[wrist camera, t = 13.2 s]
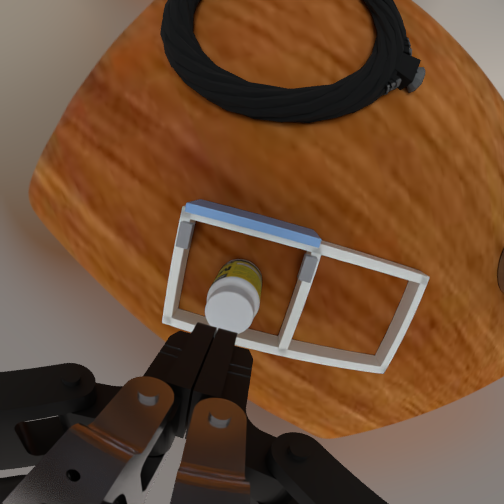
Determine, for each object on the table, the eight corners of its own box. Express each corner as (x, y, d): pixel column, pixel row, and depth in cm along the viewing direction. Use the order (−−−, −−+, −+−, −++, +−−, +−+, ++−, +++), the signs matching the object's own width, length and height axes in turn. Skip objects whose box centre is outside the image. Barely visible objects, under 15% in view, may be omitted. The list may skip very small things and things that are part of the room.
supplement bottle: (230, 250, 30) (215, 275, 22) (270, 271, 30) (269, 304, 22) (211, 287, 31) (191, 322, 23) (249, 307, 31) (241, 348, 23)
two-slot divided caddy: (422, 264, 29) (443, 277, 24) (377, 362, 32) (389, 385, 27) (191, 197, 29) (175, 200, 24) (169, 313, 32) (153, 333, 27)
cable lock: (230, -76, 16) (446, 9, 17) (234, -60, 20) (434, 20, 21) (111, 70, 22) (381, 186, 24) (127, 79, 26) (368, 185, 28)
